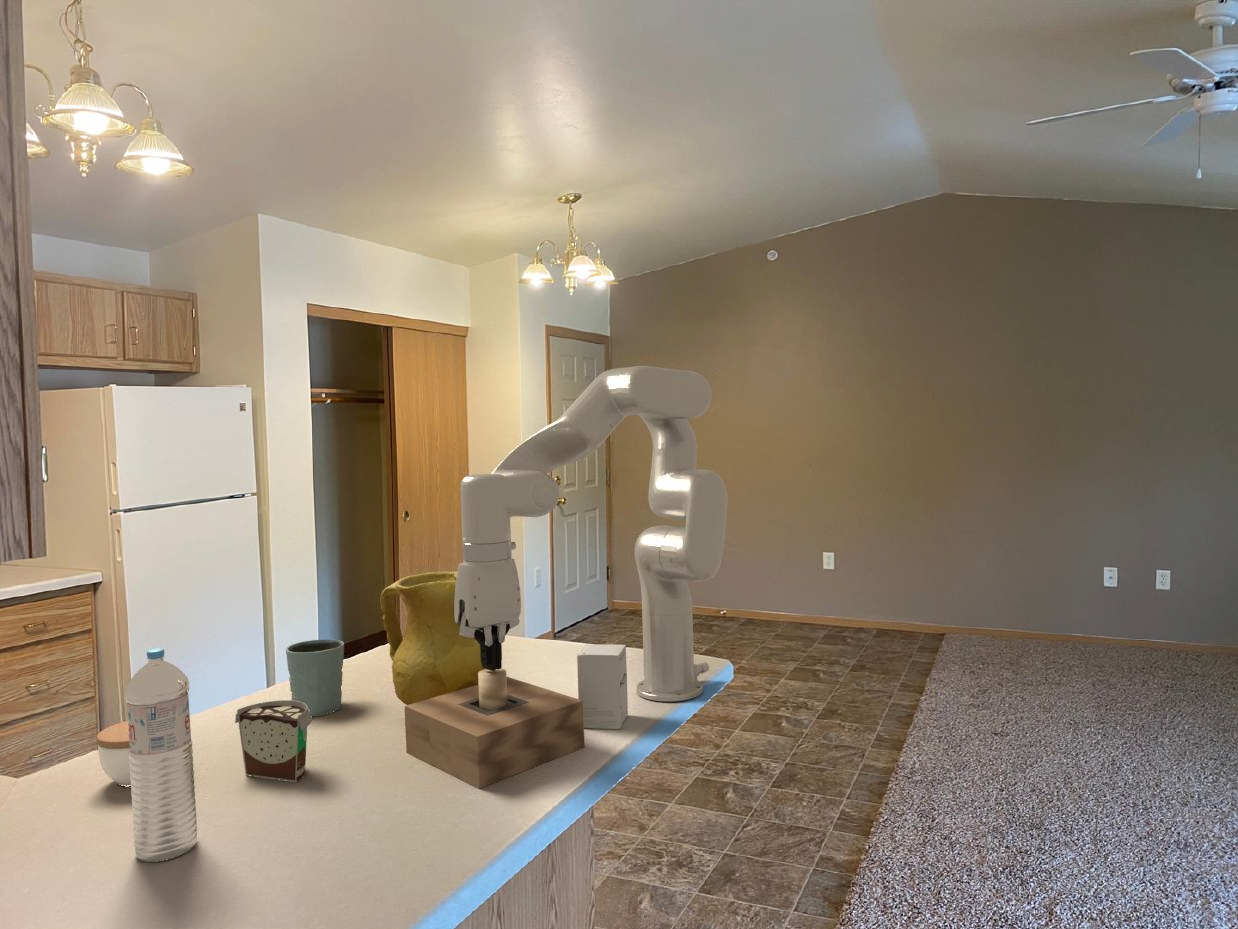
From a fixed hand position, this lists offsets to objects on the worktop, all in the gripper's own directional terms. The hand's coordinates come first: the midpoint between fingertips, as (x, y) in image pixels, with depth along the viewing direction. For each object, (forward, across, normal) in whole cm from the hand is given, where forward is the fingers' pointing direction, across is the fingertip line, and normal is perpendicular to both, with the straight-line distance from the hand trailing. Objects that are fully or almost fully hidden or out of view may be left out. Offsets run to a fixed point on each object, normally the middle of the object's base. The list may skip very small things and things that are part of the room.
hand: (491, 668), depth 129 cm
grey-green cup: (+13, +10, -42) cm, 45 cm away
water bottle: (+13, +46, -5) cm, 48 cm away
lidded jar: (+13, +42, -32) cm, 54 cm away
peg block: (+13, 0, 0) cm, 13 cm away
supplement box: (+13, -20, +4) cm, 24 cm away
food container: (+13, +26, -18) cm, 34 cm away
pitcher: (+13, -4, -22) cm, 26 cm away
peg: (+8, 0, 0) cm, 8 cm away
